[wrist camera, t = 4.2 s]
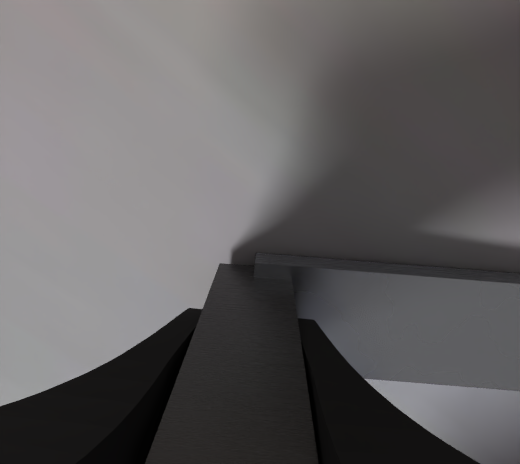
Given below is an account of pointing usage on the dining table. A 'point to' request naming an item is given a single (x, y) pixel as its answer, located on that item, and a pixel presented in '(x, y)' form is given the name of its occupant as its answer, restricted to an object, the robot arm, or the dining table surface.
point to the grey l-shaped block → (342, 337)
